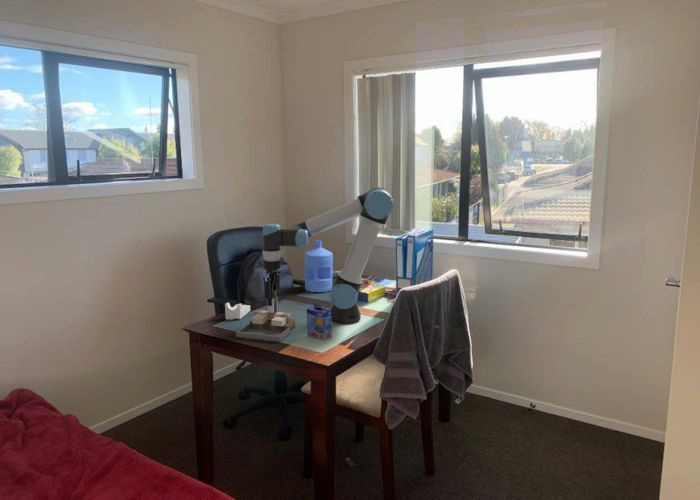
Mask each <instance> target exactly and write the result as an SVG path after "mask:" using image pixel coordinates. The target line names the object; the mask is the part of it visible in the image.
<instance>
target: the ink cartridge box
mask: <svg viewBox="0 0 700 500" xmlns="http://www.w3.org/2000/svg"><path fill="white" fill-rule="evenodd" d="M332 324H333V322H332V310H330V308H326V307H322V306H321V304H320V305H319V304H314V303H313V306H311V307H307V308H306V334H307V335H306V336H308V337H311V338H315V339H320V340H322V341H325V340H328V339H330V338H332V337H333V328H332V326H333V325H332Z"/></svg>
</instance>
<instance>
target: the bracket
mask: <svg viewBox="0 0 700 500" xmlns="http://www.w3.org/2000/svg"><path fill="white" fill-rule="evenodd" d="M224 307H225V309H224V311H225V320H229V319H230V321H234V320H235V319H236V320H241V319H242V318H243V317H244V316H246V315H247V314H248V313H249V312H251V305H250V304H249V305H247V304H243V303H238V304H235V305H234V306H231V304H230V302H226V303H225V304H224Z"/></svg>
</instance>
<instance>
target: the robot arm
mask: <svg viewBox="0 0 700 500" xmlns="http://www.w3.org/2000/svg"><path fill="white" fill-rule="evenodd" d="M394 204H395V203H394V199H393V197H392V195H391V194H390V192H389V191H388V190H387V189H385V188H384V187H379V186H378V187H373V188H371V189H370V190H367V192H364V193H362V194H360V195H358V196H357V197H356V199H354V200H351V201H350V202H347V203H345V204H343V205H340V206H338V207H335V208H333V209H331V210H328V211H325V212H323V213H321V214H318V215H317V216H314V217H311V218H309V219H307V220H305V221H302V222H299V223H295V224H293V225H292V226H291V228H281V225H280V224H279V223H266V224H264V225H263V227H262V236H261V237H262V256H263V257H262V259H263V261H262V263H263V264H262V267H263V269H264V270H266V272H265V276H263V278H262V279H263V286H264V290H263V291H264V298H265V299H267V311H268V312H269V313H274V298H273V290H277V297H279V296H280V293H281V292H280V291H281V290H280V289H281V288H280V287H281V282H280V281H281V271H280V270H279V269H281V266H282V265H281V264H282V263H281V257H282V256H281V255H282V254H281V251H282V250H281V247H293V248H294V247H296V248H301V247H302V248H303V247H307V246H308V245H309V238H310V237H313V236H315V235H318V234H321V233H322V232H325V231H327V230H329V229H333V228H334V227H335V228H336V227H338V226H340V225H342V224H344V223H347V222H349V221H352V220H354V219H357V218H359V217H360V219H361V221H360V222H359V223H360V224H359V226H358V229H357V232H356V234H355V237H354V239H353V241H352V244H351V247H350V250H349V252H348V255H347V257H346V259H345V261H344V265H343V268H342V270H335V271H333V274H332V288H331V291H329V292H330V293H329V298H330V301H331V305H330V308H329V309H330V310H332V323H334V324H339V325H349V324H356V323H358V322H360V321H361V319H362V318H361V317H362V316H361V312H360V308H359V305H358V298H359V297H358V295H359V292H360V290H361V287H362V285H363V280H362V275H363V273H364V270H365V267H366V266H367V263H368V261H369V257H370V255H371V252H372V249H373V247H374V244H375V242H376V239H377V236H378V234H379V232H380V229H381V227H383V226H385V225H386V223H387V221H388V218H389V216H390V214H391V213H392V212H393V209H394V206H395V205H394ZM359 320H360V321H359Z"/></svg>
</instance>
